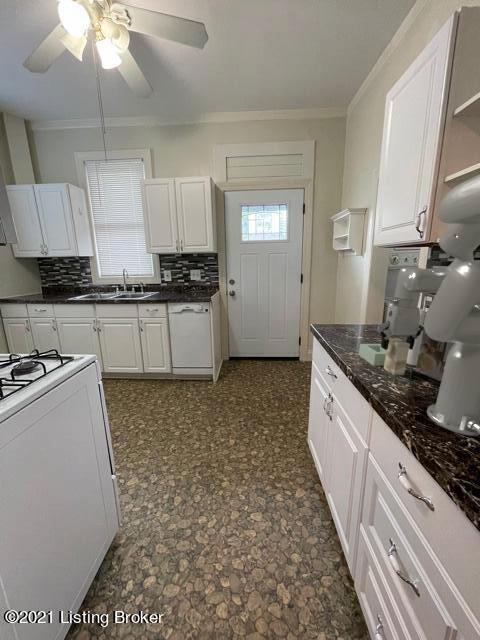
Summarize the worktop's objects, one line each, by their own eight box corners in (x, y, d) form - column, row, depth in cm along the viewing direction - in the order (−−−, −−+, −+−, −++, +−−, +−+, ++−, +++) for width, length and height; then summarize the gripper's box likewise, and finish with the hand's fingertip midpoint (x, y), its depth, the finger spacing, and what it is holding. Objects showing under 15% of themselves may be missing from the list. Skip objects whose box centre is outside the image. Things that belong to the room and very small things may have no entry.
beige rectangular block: (403, 375, 97) (409, 344, 94) (393, 375, 97) (399, 344, 94) (393, 368, 103) (398, 338, 100) (383, 368, 102) (388, 338, 99)
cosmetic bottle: (400, 358, 112) (409, 307, 106) (415, 360, 111) (426, 308, 106) (406, 364, 106) (416, 311, 101) (422, 366, 105) (434, 311, 100)
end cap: (396, 365, 105) (398, 353, 104) (373, 365, 104) (375, 353, 103) (379, 354, 116) (381, 343, 115) (358, 354, 116) (360, 343, 114)
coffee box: (451, 378, 95) (461, 335, 91) (439, 381, 93) (449, 337, 89) (425, 368, 103) (434, 328, 99) (414, 370, 101) (422, 330, 97)
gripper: (388, 305, 89) (380, 352, 94) (436, 305, 91) (426, 352, 95) (376, 300, 96) (368, 344, 101) (420, 300, 98) (411, 344, 103)
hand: (396, 348), depth 98 cm, fingers open, 9 cm apart
